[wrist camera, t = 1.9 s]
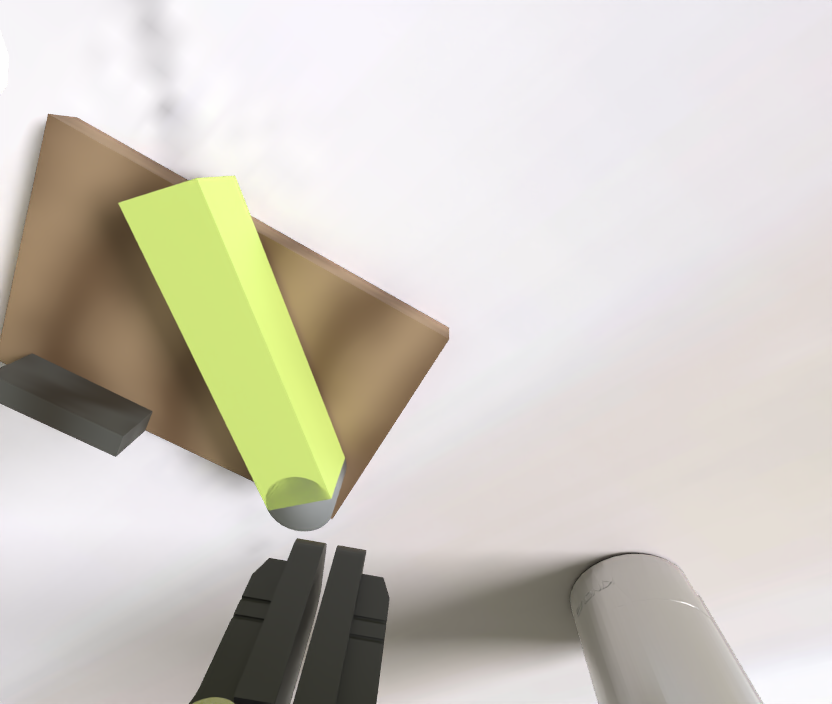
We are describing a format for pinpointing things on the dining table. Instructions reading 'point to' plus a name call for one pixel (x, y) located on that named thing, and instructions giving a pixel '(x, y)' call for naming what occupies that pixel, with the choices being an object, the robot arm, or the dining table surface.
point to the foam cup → (3, 65)
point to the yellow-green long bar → (242, 342)
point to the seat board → (157, 329)
